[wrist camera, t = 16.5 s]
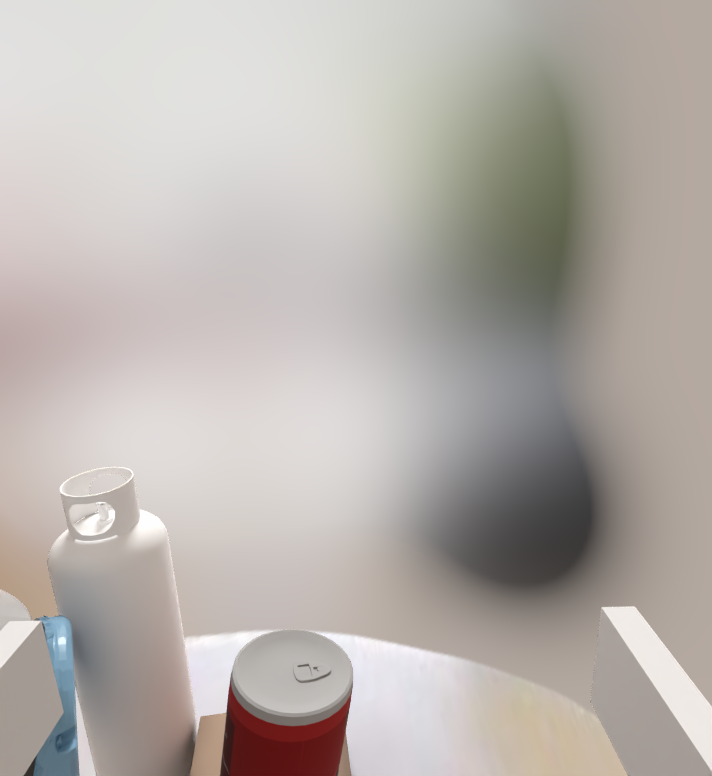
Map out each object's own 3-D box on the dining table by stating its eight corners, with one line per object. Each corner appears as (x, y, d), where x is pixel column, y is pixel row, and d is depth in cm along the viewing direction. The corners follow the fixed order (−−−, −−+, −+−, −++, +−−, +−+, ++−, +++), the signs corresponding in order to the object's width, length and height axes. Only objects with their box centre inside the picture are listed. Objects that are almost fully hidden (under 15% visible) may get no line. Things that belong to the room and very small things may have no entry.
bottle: (208, 725, 48) (168, 453, 40) (194, 818, 40) (141, 502, 32) (119, 739, 47) (61, 462, 39) (87, 836, 39) (6, 515, 31)
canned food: (352, 827, 34) (377, 688, 32) (240, 894, 29) (260, 738, 27) (300, 737, 40) (318, 616, 38) (201, 781, 35) (214, 646, 33)
